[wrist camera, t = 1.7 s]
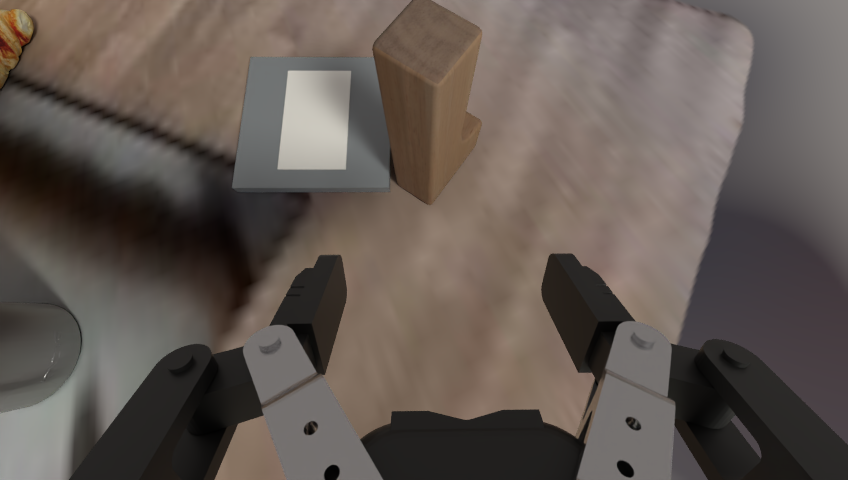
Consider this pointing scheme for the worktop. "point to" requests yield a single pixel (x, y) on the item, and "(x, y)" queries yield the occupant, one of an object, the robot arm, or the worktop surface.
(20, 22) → the croissant
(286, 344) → the robot arm
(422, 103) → the wooden block
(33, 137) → the worktop surface
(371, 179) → the socket board
